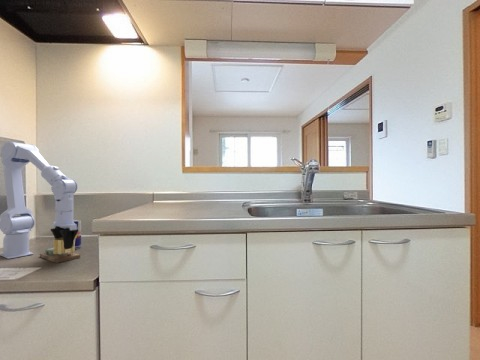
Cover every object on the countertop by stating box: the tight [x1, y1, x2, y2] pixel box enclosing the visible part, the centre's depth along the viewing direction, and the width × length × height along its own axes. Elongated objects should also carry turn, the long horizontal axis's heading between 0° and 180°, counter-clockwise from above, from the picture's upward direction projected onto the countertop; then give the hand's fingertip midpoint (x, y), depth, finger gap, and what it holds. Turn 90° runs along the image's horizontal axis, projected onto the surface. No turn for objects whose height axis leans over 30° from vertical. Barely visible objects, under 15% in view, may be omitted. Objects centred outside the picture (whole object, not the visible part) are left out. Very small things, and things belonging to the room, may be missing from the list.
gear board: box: [39, 247, 81, 264], centre depth 103 cm, size 14×8×5 cm, turn 56°
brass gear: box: [52, 237, 76, 254], centre depth 101 cm, size 6×7×5 cm
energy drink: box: [73, 219, 82, 250], centre depth 117 cm, size 5×5×12 cm
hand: (64, 247), depth 101 cm, fingers closed on brass gear, 5 cm apart
